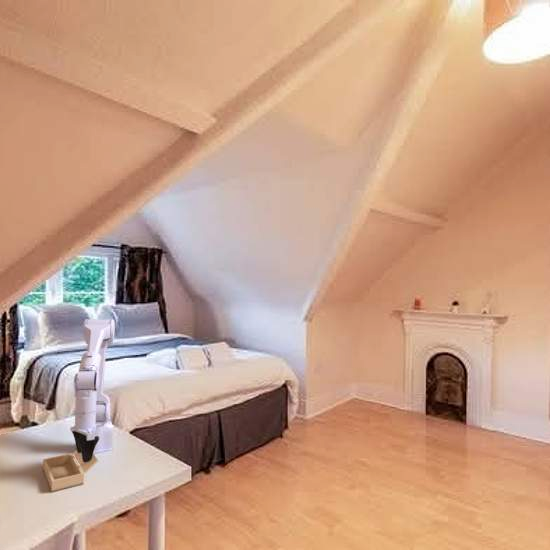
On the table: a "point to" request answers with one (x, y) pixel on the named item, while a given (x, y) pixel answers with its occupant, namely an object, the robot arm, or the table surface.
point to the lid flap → (85, 465)
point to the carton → (62, 472)
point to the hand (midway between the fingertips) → (84, 456)
